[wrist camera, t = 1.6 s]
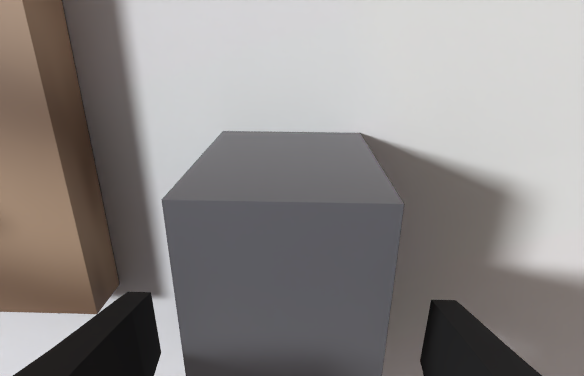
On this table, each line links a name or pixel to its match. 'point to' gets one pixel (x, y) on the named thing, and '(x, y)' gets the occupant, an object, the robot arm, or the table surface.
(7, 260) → the board
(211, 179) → the block
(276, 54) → the table surface
